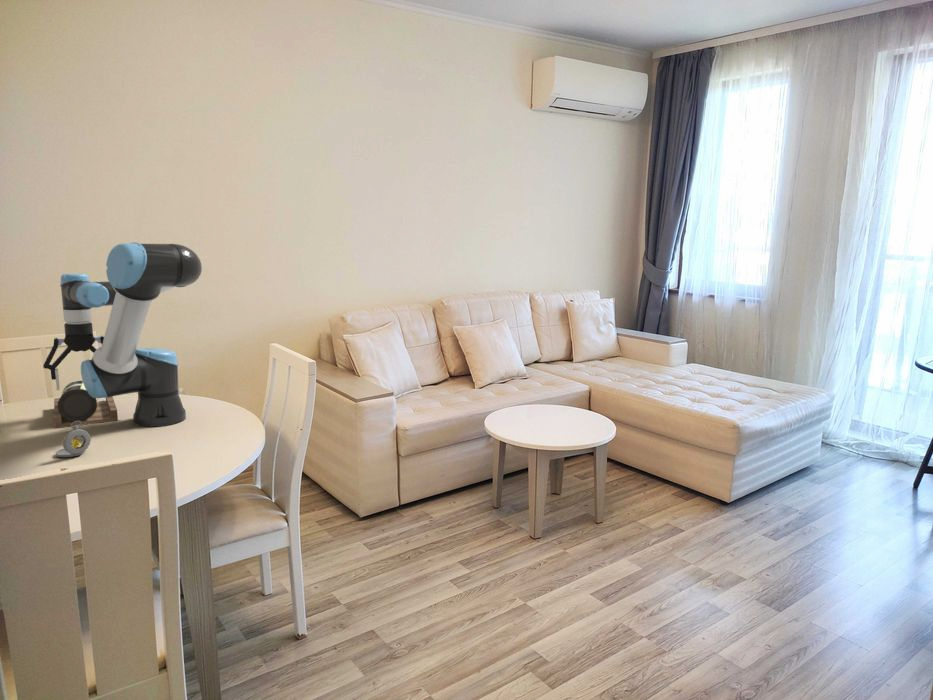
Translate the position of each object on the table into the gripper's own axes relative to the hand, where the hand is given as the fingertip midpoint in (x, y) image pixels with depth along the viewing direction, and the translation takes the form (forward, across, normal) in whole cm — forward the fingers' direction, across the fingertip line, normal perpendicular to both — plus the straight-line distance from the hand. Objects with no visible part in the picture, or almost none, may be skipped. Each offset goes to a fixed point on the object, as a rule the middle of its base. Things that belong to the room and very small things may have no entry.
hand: (83, 387), depth 196 cm
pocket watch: (+9, +4, +41) cm, 43 cm away
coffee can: (+3, +1, -3) cm, 4 cm away
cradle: (+9, 0, 0) cm, 9 cm away
